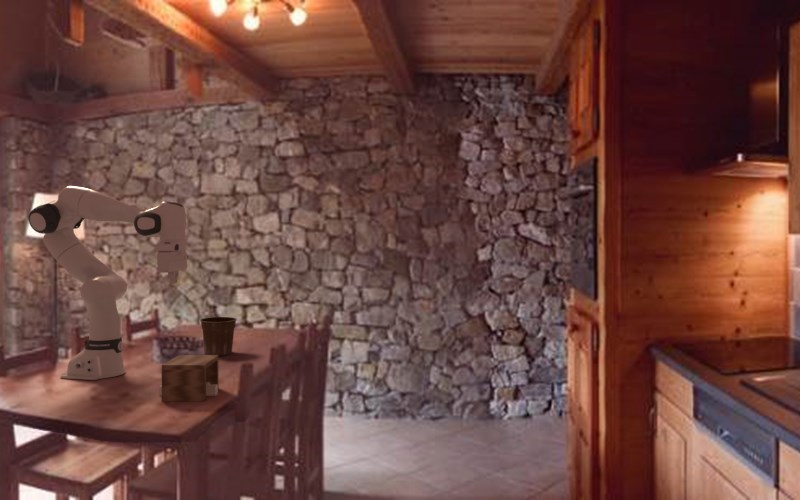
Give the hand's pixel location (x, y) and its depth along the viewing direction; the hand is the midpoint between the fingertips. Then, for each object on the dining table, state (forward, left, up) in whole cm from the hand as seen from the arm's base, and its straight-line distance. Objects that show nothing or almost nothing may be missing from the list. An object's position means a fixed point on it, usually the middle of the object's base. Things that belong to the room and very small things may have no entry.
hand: (173, 283), depth 209 cm
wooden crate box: (+11, -14, -37) cm, 41 cm away
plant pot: (+1, +54, -37) cm, 66 cm away
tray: (+10, -14, -37) cm, 41 cm away
